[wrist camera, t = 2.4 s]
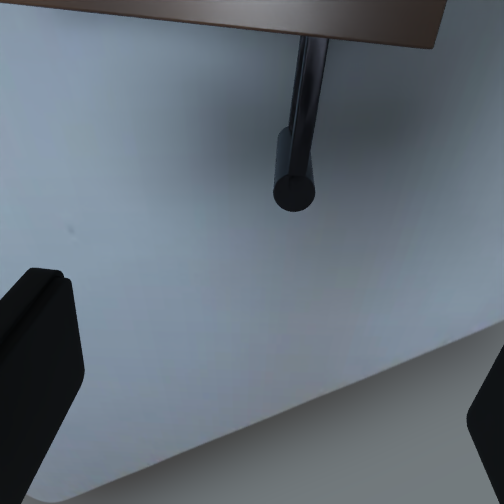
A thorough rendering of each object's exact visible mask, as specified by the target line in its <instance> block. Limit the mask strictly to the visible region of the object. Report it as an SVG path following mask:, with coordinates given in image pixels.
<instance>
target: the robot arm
mask: <svg viewBox="0 0 504 504" xmlns="http://www.w3.org/2000/svg"><path fill="white" fill-rule="evenodd" d="M84 372H85V369H84V361H83V355H82V348H81V341H80V335H79V328H78V322H77V315H76V308H75V302H74V295H73V289H72V283H71V280H70V279H68V278H64V275H63V273H62V272H61V271H59V270H51V269H42V268H30V269H29V270H27V271H26V272H25V274H24V275H23V276H22V277H21V278H20V279H19V280H18V281H17V282H16V283H15V285H14V286H13V287H12V288H11V289H10V290H9V291H8V292H7V293H6V294H5V295H4V297H3V298H2V299H1V300H0V504H21V503H22V501H23V499H24V496H25V495H26V493H27V491H28V489H29V487H30V485H31V483H32V481H33V479H34V477H35V475H36V473H37V471H38V469H39V467H40V465H41V463H42V461H43V459H44V457H45V455H46V453H47V451H48V450H49V448H50V446H51V444H52V442H53V440H54V438H55V436H56V434H57V432H58V430H59V428H60V426H61V424H62V422H63V420H64V418H65V416H66V414H67V412H68V410H69V408H70V406H71V404H72V402H73V400H74V398H75V397H76V395H77V393H78V391H79V389H80V387H81V384H82V382H83V378H84ZM467 427H468V430H469V432H470V435H471V437H472V440H473V442H474V444H475V446H476V449H477V451H478V454H479V456H480V458H481V461H482V463H483V465H484V468H485V470H486V472H487V475H488V477H489V480H490V482H491V484H492V487H493V489H494V491H495V494H496V496H497V498H498V501H499V503H500V504H504V345H503V347H502V349H501V351H500V353H499V355H498V356H497V358H496V360H495V362H494V364H493V366H492V368H491V369H490V371H489V373H488V375H487V377H486V379H485V381H484V383H483V384H482V386H481V388H480V390H479V392H478V394H477V395H476V397H475V399H474V401H473V403H472V405H471V406H470V408H469V410H468V413H467Z"/></svg>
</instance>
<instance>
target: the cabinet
mask: <svg viewBox="0 0 504 504" xmlns="http://www.w3.org/2000/svg"><path fill="white" fill-rule="evenodd" d="M0 3H8V4H17V5H26V6H36V7H45V8H54V9H63V10H72V11H81V12H90V13H100V14H109V15H118V16H127V17H136V18H145V19H154V20H164V21H173V22H182V23H191V24H200V25H209V26H218V27H228V28H237V29H246V30H255V31H264V32H273V33H282V34H292V35H301V36H310V37H319V38H328V39H337V40H346V41H356V42H365V43H374V44H383V45H392V46H401V47H410V48H420V49H429V50H430V49H433V47H434V44H435V41H436V37H437V34H438V31H439V27H440V24H441V20H442V17H443V13H444V10H445V6H446V3H447V0H0Z"/></svg>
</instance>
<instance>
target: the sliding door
mask: <svg viewBox="0 0 504 504" xmlns="http://www.w3.org/2000/svg"><path fill="white" fill-rule="evenodd" d="M328 44H329V39H328V38H319V37H310V36H300V43H299V50H298V58H297V65H296V72H295V80H294V87H293V95H292V102H291V109H290V117H289V124H288V126H287V127H285V128H284V129H283V130H282V131H281V132H280V133H279V135H278V140H277V152H276V164H275V177H274V189H273V196H274V199H275V201H276V203H277V204H278V205H279V206H280V207H281V208H282V209H284V210H286V211H290V212H297V211H301V210H304V209H306V208H307V207H308V206H309V205H310V204H311V203H312V202H313V200H314V197H315V185H314V176H313V168H312V160H311V152H310V151H311V145H312V139H313V133H314V127H315V121H316V115H317V109H318V103H319V97H320V91H321V85H322V79H323V73H324V67H325V61H326V55H327V50H328Z"/></svg>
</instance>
